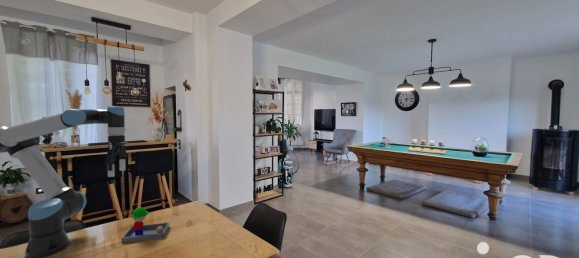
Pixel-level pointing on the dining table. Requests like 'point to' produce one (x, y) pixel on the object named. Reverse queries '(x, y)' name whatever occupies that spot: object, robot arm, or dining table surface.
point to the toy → (139, 220)
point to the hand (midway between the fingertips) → (117, 173)
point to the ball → (160, 229)
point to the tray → (146, 233)
